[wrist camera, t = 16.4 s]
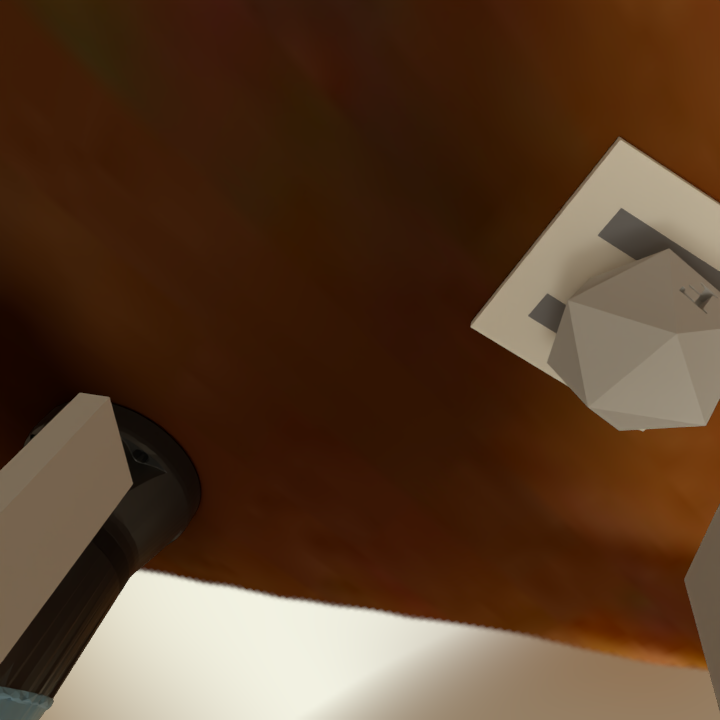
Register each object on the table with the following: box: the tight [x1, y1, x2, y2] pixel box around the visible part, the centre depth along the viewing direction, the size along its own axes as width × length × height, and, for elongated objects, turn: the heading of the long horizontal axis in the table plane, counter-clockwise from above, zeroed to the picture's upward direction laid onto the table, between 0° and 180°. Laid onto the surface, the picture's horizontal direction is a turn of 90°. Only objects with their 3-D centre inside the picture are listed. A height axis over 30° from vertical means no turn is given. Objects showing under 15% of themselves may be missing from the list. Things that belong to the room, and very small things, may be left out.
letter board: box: [470, 137, 720, 431], centre depth 34 cm, size 13×13×1 cm
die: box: [547, 249, 720, 431], centre depth 31 cm, size 8×9×10 cm
